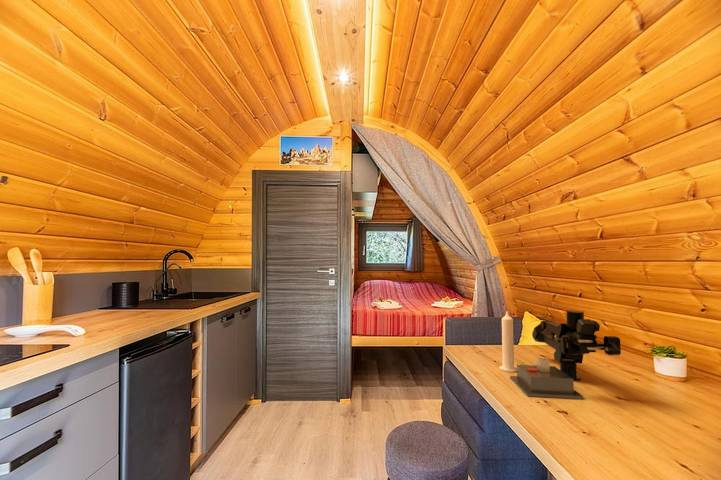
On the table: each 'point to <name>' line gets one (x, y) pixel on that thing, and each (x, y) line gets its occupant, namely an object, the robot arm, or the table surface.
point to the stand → (545, 383)
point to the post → (543, 365)
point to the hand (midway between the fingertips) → (603, 352)
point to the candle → (507, 344)
